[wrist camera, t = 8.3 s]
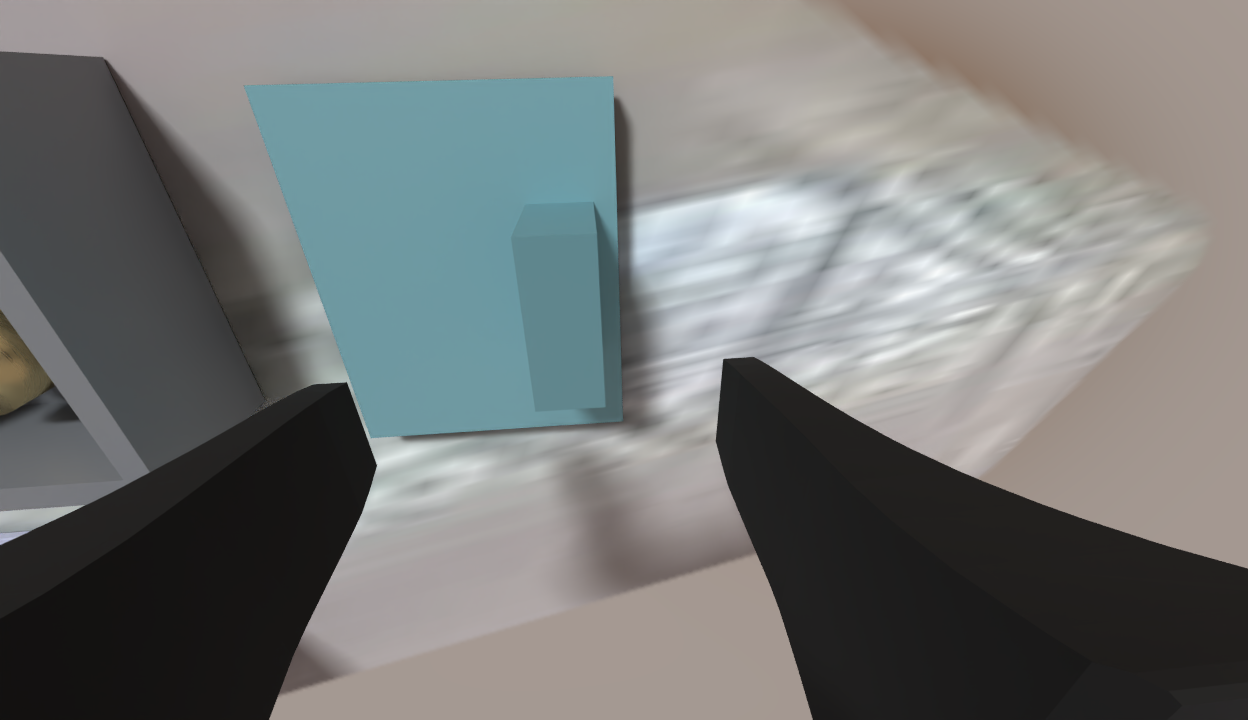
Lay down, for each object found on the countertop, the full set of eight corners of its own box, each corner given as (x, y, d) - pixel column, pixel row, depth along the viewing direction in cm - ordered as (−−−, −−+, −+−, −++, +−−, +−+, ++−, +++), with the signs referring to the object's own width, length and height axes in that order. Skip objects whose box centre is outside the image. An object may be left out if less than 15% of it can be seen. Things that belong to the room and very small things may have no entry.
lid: (619, 397, 20) (631, 487, 16) (385, 412, 19) (328, 509, 15) (610, 76, 14) (623, 74, 10) (277, 85, 14) (134, 86, 9)
